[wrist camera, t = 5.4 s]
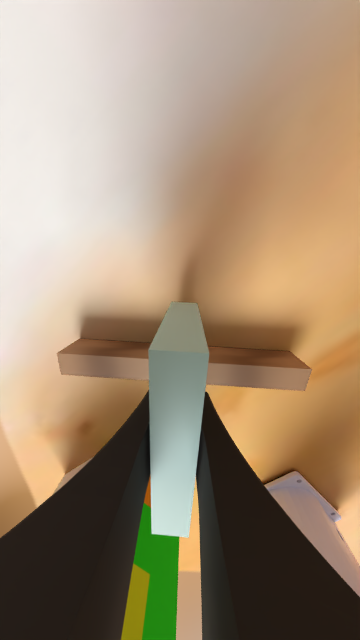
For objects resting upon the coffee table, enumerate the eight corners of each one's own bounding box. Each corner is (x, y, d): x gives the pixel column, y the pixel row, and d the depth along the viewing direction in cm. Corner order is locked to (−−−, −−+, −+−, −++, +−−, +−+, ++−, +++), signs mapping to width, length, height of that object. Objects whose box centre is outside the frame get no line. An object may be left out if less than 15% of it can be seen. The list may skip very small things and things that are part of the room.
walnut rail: (289, 351, 14) (312, 369, 11) (284, 369, 14) (304, 390, 12) (79, 338, 14) (56, 353, 12) (82, 357, 15) (61, 374, 12)
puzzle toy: (65, 473, 20) (-47, 659, 11) (122, 437, 18) (46, 631, 8) (122, 515, 22) (73, 704, 13) (180, 488, 20) (173, 692, 10)
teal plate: (171, 301, 12) (148, 349, 5) (197, 303, 11) (209, 353, 5) (168, 412, 15) (151, 533, 8) (188, 413, 15) (188, 537, 8)
